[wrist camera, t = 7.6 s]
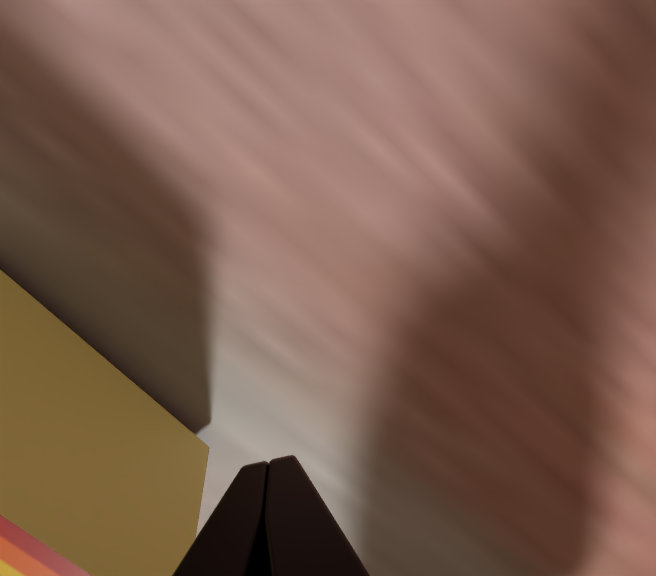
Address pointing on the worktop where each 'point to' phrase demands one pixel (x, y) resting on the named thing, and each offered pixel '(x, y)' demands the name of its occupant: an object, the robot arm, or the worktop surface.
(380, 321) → the worktop surface
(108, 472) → the baking soda box
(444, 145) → the worktop surface
